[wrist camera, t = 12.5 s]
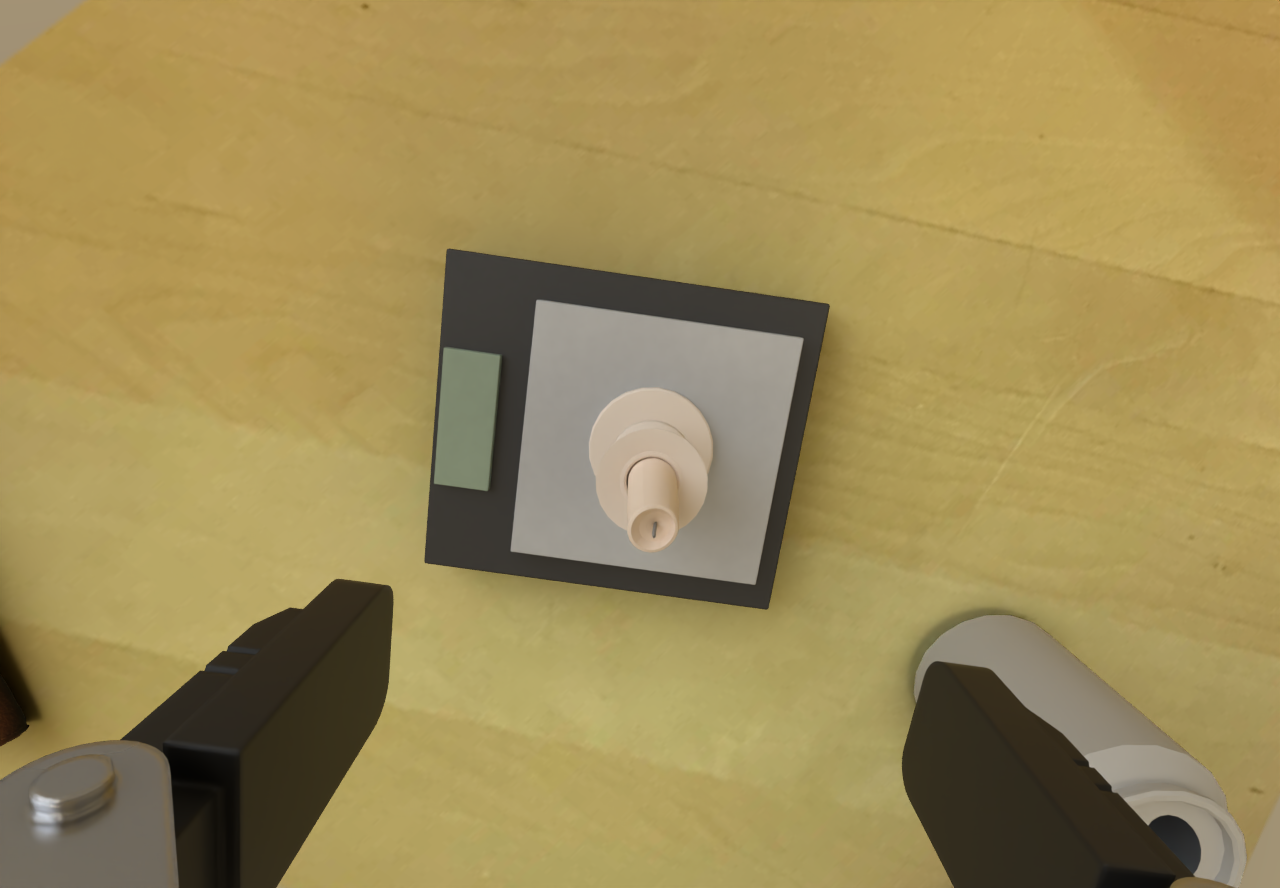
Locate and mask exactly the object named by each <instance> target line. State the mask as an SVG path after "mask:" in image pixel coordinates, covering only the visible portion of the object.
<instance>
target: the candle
mask: <svg viewBox="0 0 1280 888" xmlns="http://www.w3.org/2000/svg"><path fill="white" fill-rule="evenodd" d="M712 459H713V439H712V435H711V432H710V428H709V425H708V423H707V421H706V420H705V418H704V416H703V415H702V413H701V411H700V410H699V409H698V408H697V407H696V406H695V405H694V404H693V403H692V402H691V401H690V400H689V399H687V398H686V397H684V396H682V395H680V394H678V393H677V392H675V391H672V390H668V389H664V388H660V387H642V388H638V389H634V390H631V391H627V392H625V393H623V394H622V395H620V396H618V397H617V398H615V399H613V400H612V401H611V402H610V403H609V404H608V405H607V406H606V407H605V408H604V409H603V410H602V411H601V412H600V414H599V416H598V418H597V420H596V421H595V423H594V425H593V427H592V431H591V436H590V440H589V460H590V463H591V466H592V469H593V472H594V475H595V476H596V493H597V496H598V499H599V502H600V505H601V507H602V508H603V510H604V511H605V513H606V514H607V516H608V517H609V518H610V519H611V520H612V521H613V522H614V523H615V524H616V525H618V526H619V527H621V528H623V529H624V530H626V531H627V534H628V537H629V540H630V541H631V543H632V544H633V545H634V546H635V547H636V548H637V549H639V550H641V551H643V552H649V553H652V552H658V551H661V550H664V549H665V548H667V547H668V546H669V545H670V544H671V543H672V542H673V541H674V540H675V538H676V536H677V534H678V530H679V529H681V528H683V527H684V526H686V525H687V524H688V523H689V522H690V521H691V520H692V519H693V518H694V517H695V516H696V515H697V514H698V512H699V510H700V509H701V507H702V505H703V504H704V501H705V497H706V494H707V489H708V476H707V474H708V473H709V469H710V466H711V462H712Z"/></svg>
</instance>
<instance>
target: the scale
mask: <svg viewBox="0 0 1280 888" xmlns="http://www.w3.org/2000/svg"><path fill="white" fill-rule="evenodd" d="M829 307H830V306H829V304H826V303H819V302H812V301H805V300H798V299H791V298H784V297H778V296H771V295H764V294H757V293H750V292H743V291H736V290H730V289H723V288H716V287H709V286H702V285H695V284H688V283H682V282H675V281H668V280H661V279H654V278H647V277H640V276H633V275H627V274H620V273H613V272H606V271H599V270H592V269H585V268H579V267H572V266H565V265H558V264H551V263H544V262H537V261H531V260H524V259H517V258H510V257H503V256H496V255H489V254H482V253H476V252H469V251H462V250H455V249H447V254H446V268H445V282H444V296H443V310H442V324H441V338H440V352H439V366H438V380H437V394H436V408H435V422H434V436H433V450H432V464H431V478H430V492H429V506H428V520H427V534H426V548H425V563H428V564H436V565H443V566H450V567H458V568H465V569H472V570H480V571H487V572H494V573H502V574H509V575H517V576H524V577H531V578H539V579H546V580H553V581H561V582H568V583H575V584H583V585H590V586H597V587H605V588H612V589H620V590H627V591H634V592H642V593H649V594H656V595H664V596H671V597H678V598H686V599H693V600H701V601H708V602H715V603H723V604H730V605H737V606H745V607H752V608H759V609H768V608H769V603H770V598H771V593H772V588H773V583H774V578H775V573H776V568H777V563H778V559H779V554H780V549H781V544H782V539H783V534H784V529H785V524H786V519H787V514H788V509H789V504H790V499H791V494H792V490H793V485H794V480H795V475H796V470H797V465H798V460H799V455H800V450H801V445H802V440H803V435H804V430H805V425H806V421H807V416H808V411H809V406H810V401H811V396H812V391H813V386H814V381H815V376H816V371H817V366H818V361H819V356H820V352H821V347H822V342H823V337H824V332H825V327H826V322H827V317H828V312H829ZM642 387H660V388H664V389H668V390H672V391H675V392H677V393H678V394H680V395H682V396H684V397H686V398H687V399H689V400H690V401H691V402H692V403H693V404H694V405H695V406H696V407H697V408H698V409H699V410H700V411H701V413H702V415H703V416H704V418H705V420H706V421H707V423H708V425H709V428H710V432H711V435H712V439H713V459H712V462H711V466H710V469H709V473H708V474H707V476H708V489H707V494H706V497H705V501H704V504H703V505H702V507H701V509H700V510H699V512H698V514H697V515H696V516H695V517H694V518H693V519H692V520H691V521H690V522H689V523H688V524H687V525H686V526H684V527H683V528H681V529H679V530H678V534H677V536H676V538H675V540H674V541H673V542H672V543H671V544H670V545H669V546H668V547H667V548H665V549H664V550H661V551H658V552H652V553H649V552H643V551H641V550H639V549H637V548H636V547H635V546H634V545H633V544H632V543H631V541H630V540H629V537H628V534H627V531H626V530H624V529H623V528H621V527H619V526H618V525H616V524H615V523H614V522H613V521H612V520H611V519H610V518H609V517H608V516H607V514H606V513H605V511H604V510H603V508H602V507H601V505H600V502H599V499H598V496H597V493H596V476H595V475H594V472H593V469H592V466H591V463H590V460H589V440H590V436H591V431H592V427H593V425H594V423H595V421H596V420H597V418H598V416H599V414H600V412H601V411H602V410H603V409H604V408H605V407H606V406H607V405H608V404H609V403H610V402H611V401H612V400H613V399H615V398H617V397H618V396H620V395H622V394H623V393H625V392H627V391H631V390H634V389H638V388H642Z"/></svg>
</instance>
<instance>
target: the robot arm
mask: <svg viewBox="0 0 1280 888" xmlns="http://www.w3.org/2000/svg"><path fill="white" fill-rule="evenodd" d="M392 619H393V591H392V589H391V587H390V586H388V585H381V584H374V583H366V582H359V581H352V580H344V579H336V580H334V581H333V582H331V583H330V584H329V585H328V586H327V587H326V588H325V589H324V590H323V591H322V592H321V593H320V594H319V595H318V596H317V597H316V598H314V599H313V600H312V601H311V602H310V603H309V604H308V605H307V606H306V607H305V608H304V609H297V608H288V609H286V610H284V611H282V612H279V613H277V614H275V615H273V616H271V617H269V618H266V619H264V620H262V621H260V622H258V623H255V624H254V625H252V626H251V627H250V628H249V629H248V630H247V631H245V632H244V633H243V634H242V635H241V636H240V637H239V638H237V639H236V640H235V641H234V642H233V643H232V644H230V645H229V646H228V649H227V651H222V652H221V653H220V654H219V655H218V656H217V657H215V658H214V659H213V660H212V661H211V662H210V663H209V664H207V665H206V668H205V670H204V671H199V672H198V673H197V674H196V675H195V676H194V677H192V678H191V679H190V680H189V681H188V682H187V683H185V684H184V685H183V686H182V687H181V688H180V689H179V690H177V691H176V692H175V693H174V694H173V695H172V696H170V697H169V698H168V699H167V700H166V701H165V702H164V703H162V704H161V705H160V706H159V707H158V708H157V709H155V710H154V711H153V712H152V713H151V714H150V715H149V716H147V717H146V718H145V719H144V720H143V721H142V722H140V723H139V724H138V725H137V726H136V727H135V728H134V729H132V730H131V731H130V732H129V733H128V734H127V735H125V736H124V737H123V738H122V739H121V740H110V741H101V742H93V743H88V744H83V745H78V746H74V747H71V748H67V749H64V750H60V751H58V752H55V753H52V754H49V755H47V756H44V757H42V758H40V759H37V760H35V761H33V762H31V763H28V764H27V765H25V766H23V767H21V768H19V769H17V770H15V771H14V772H12V773H11V774H9V775H7V776H6V777H4V778H3V779H1V780H0V888H276V887H277V885H278V884H279V882H280V881H281V879H282V877H283V876H284V874H285V872H286V871H287V869H288V868H289V866H290V864H291V863H292V861H293V859H294V858H295V856H296V855H297V853H298V851H299V850H300V848H301V846H302V845H303V843H304V841H305V840H306V838H307V837H308V835H309V833H310V832H311V830H312V828H313V827H314V825H315V824H316V822H317V820H318V819H319V817H320V815H321V814H322V812H323V810H324V809H325V807H326V806H327V804H328V802H329V801H330V799H331V797H332V796H333V794H334V793H335V791H336V789H337V788H338V786H339V784H340V783H341V781H342V779H343V778H344V776H345V775H346V773H347V771H348V770H349V768H350V766H351V765H352V763H353V762H354V760H355V758H356V757H357V755H358V753H359V752H360V750H361V749H362V747H363V745H364V744H365V742H366V740H367V739H368V737H369V735H370V734H371V732H372V731H373V729H374V727H375V725H376V724H377V721H378V719H379V717H380V714H381V712H382V709H383V706H384V702H385V699H386V694H387V689H388V683H389V669H390V652H391V636H392ZM902 773H903V781H904V786H905V790H906V793H907V795H908V798H909V800H910V802H911V804H912V806H913V808H914V810H915V812H916V814H917V815H918V817H919V819H920V821H921V823H922V825H923V827H924V829H925V831H926V833H927V835H928V837H929V839H930V841H931V843H932V845H933V847H934V849H935V851H936V853H937V855H938V857H939V859H940V861H941V862H942V864H943V866H944V868H945V870H946V872H947V874H948V876H949V878H950V880H951V882H952V884H953V886H954V888H1235V887H1232V886H1229V885H1227V884H1224V883H1221V882H1217V881H1214V880H1210V879H1205V878H1199V877H1195V876H1194V875H1193V874H1192V872H1191V871H1190V870H1189V869H1188V868H1187V867H1186V866H1185V865H1184V864H1183V863H1182V862H1181V861H1180V860H1179V858H1178V857H1177V856H1176V855H1175V854H1174V853H1173V852H1172V851H1171V850H1170V849H1169V848H1168V847H1167V846H1166V844H1165V843H1164V842H1163V841H1162V840H1161V839H1160V838H1159V837H1158V836H1157V835H1156V834H1155V833H1154V831H1153V830H1152V829H1151V828H1150V827H1149V826H1148V825H1147V824H1146V823H1145V822H1144V821H1143V820H1142V819H1141V817H1140V816H1139V815H1138V814H1137V813H1136V812H1135V811H1134V810H1133V809H1132V808H1131V807H1130V806H1129V805H1128V803H1127V802H1126V801H1125V800H1124V799H1123V798H1122V797H1121V796H1120V795H1119V794H1118V793H1115V792H1112V786H1111V785H1110V784H1109V783H1108V782H1107V781H1106V780H1105V779H1104V778H1103V776H1102V775H1101V774H1100V773H1099V772H1098V771H1097V770H1096V769H1095V768H1092V767H1089V761H1088V760H1087V759H1086V758H1085V757H1084V756H1083V755H1082V754H1081V753H1080V752H1079V751H1078V749H1077V748H1076V747H1075V746H1074V745H1073V744H1072V743H1071V742H1070V741H1069V740H1068V739H1067V738H1066V737H1065V735H1064V734H1063V733H1061V732H1060V731H1059V730H1057V729H1056V728H1054V727H1053V726H1052V725H1050V724H1049V723H1047V722H1046V721H1044V720H1043V719H1042V718H1040V717H1039V716H1037V715H1036V714H1035V713H1033V712H1032V711H1030V710H1029V709H1028V708H1026V707H1025V706H1024V705H1023V704H1022V703H1021V702H1020V700H1019V699H1018V698H1017V697H1016V696H1015V695H1014V694H1013V693H1012V691H1011V690H1010V689H1009V688H1008V687H1007V686H1006V685H1005V684H1004V683H1003V681H1002V680H1001V679H1000V678H999V677H998V676H997V675H996V674H995V673H994V672H993V671H992V670H991V669H989V668H985V667H979V666H971V665H964V664H956V663H949V662H942V661H935V662H933V663H931V664H930V665H929V667H928V668H927V670H926V672H925V675H924V678H923V681H922V685H921V689H920V692H919V696H918V699H917V703H916V707H915V710H914V714H913V717H912V721H911V725H910V728H909V732H908V735H907V739H906V743H905V746H904V750H903V757H902Z"/></svg>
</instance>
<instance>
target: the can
mask: <svg viewBox="0 0 1280 888" xmlns="http://www.w3.org/2000/svg"><path fill="white" fill-rule="evenodd" d="M935 661H942V662H949V663H956V664H964V665H971V666H979V667H985V668H989V669H991V670H992V671H993V672H994V673H995V674H996V675H997V676H998V677H999V678H1000V679H1001V680H1002V681H1003V683H1004V684H1005V685H1006V686H1007V687H1008V688H1009V689H1010V690H1011V691H1012V693H1013V694H1014V695H1015V696H1016V697H1017V698H1018V699H1019V700H1020V702H1021V703H1022V704H1023V705H1024V706H1025V707H1026V708H1028V709H1029V710H1030V711H1032V712H1033V713H1035V714H1036V715H1037V716H1039V717H1040V718H1042V719H1043V720H1044V721H1046V722H1047V723H1049V724H1050V725H1052V726H1053V727H1054V728H1056V729H1057V730H1059V731H1060V732H1061V733H1063V734H1064V735H1065V737H1066V738H1067V739H1068V740H1069V741H1070V742H1071V743H1072V744H1073V745H1074V746H1075V747H1076V748H1077V749H1078V751H1079V752H1080V753H1081V754H1082V755H1083V756H1084V757H1085V758H1086V759H1087V760H1088V761H1089V767H1092V768H1095V769H1096V770H1097V771H1098V772H1099V773H1100V774H1101V775H1102V776H1103V778H1104V779H1105V780H1106V781H1107V782H1108V783H1109V784H1110V785H1111V786H1112V792H1115V793H1118V794H1119V795H1120V796H1121V797H1122V798H1123V799H1124V800H1125V801H1126V802H1127V803H1128V805H1129V806H1130V807H1131V808H1132V809H1133V810H1134V811H1135V812H1136V813H1137V814H1138V815H1139V816H1140V817H1141V819H1142V820H1143V821H1144V822H1145V823H1146V824H1147V825H1148V826H1149V827H1150V828H1151V829H1152V830H1153V831H1154V833H1155V834H1156V835H1157V836H1158V837H1159V838H1160V839H1161V840H1162V841H1163V842H1164V843H1165V844H1166V846H1167V847H1168V848H1169V849H1170V850H1171V851H1172V852H1173V853H1174V854H1175V855H1176V856H1177V857H1178V858H1179V860H1180V861H1181V862H1182V863H1183V864H1184V865H1185V866H1186V867H1187V868H1188V869H1189V870H1190V871H1191V872H1192V874H1193V875H1194V876H1195V877H1199V878H1205V879H1210V880H1214V881H1217V882H1221V883H1224V884H1227V885H1229V886H1232V887H1235V888H1238V887H1239V886H1240V884H1241V880H1242V876H1243V872H1244V869H1245V865H1246V861H1247V855H1246V847H1245V840H1244V834H1243V833H1242V831H1241V830H1240V828H1239V826H1238V825H1237V823H1236V821H1235V820H1234V818H1233V816H1232V815H1231V814H1230V813H1229V812H1228V810H1227V803H1226V796H1225V794H1224V792H1223V791H1222V789H1221V788H1220V786H1219V784H1218V783H1217V781H1216V779H1215V778H1214V776H1213V774H1212V773H1211V772H1210V771H1209V770H1208V769H1207V768H1206V767H1204V766H1203V765H1202V764H1201V763H1200V762H1199V761H1197V760H1196V759H1195V758H1194V757H1193V756H1191V755H1190V754H1189V753H1188V752H1187V751H1186V750H1184V749H1183V748H1182V747H1181V746H1180V745H1179V744H1177V743H1176V742H1175V741H1174V740H1173V739H1172V738H1170V737H1169V736H1168V735H1167V734H1166V733H1164V732H1163V731H1162V730H1161V729H1160V728H1159V727H1157V726H1156V725H1155V724H1154V723H1153V722H1152V721H1150V720H1149V719H1148V718H1147V717H1146V716H1145V715H1143V714H1142V713H1141V712H1140V711H1139V710H1137V709H1136V708H1135V707H1134V706H1133V705H1132V704H1130V703H1129V702H1128V701H1127V700H1126V699H1125V698H1123V697H1122V696H1121V695H1120V694H1119V693H1118V692H1116V691H1115V690H1114V689H1113V688H1112V687H1110V686H1109V685H1108V684H1107V683H1106V682H1105V681H1103V680H1102V679H1101V678H1100V677H1099V676H1098V675H1096V674H1095V673H1094V672H1093V671H1092V670H1091V669H1089V668H1088V667H1087V666H1086V665H1085V664H1083V663H1082V662H1081V661H1080V660H1079V659H1078V658H1076V657H1075V656H1074V655H1073V654H1072V653H1071V652H1069V651H1068V650H1067V649H1066V648H1065V647H1064V646H1062V645H1061V644H1060V643H1059V642H1058V641H1056V640H1055V639H1054V638H1053V637H1052V636H1051V635H1049V634H1048V633H1047V632H1045V631H1044V630H1043V629H1041V628H1040V627H1039V626H1037V625H1036V624H1035V623H1033V622H1030V621H1027V620H1024V619H1021V618H1018V617H1015V616H1012V615H985V616H982V617H978V618H974V619H971V620H967V621H963V622H961V623H960V624H958V625H956V626H955V627H953V628H951V629H950V630H948V631H946V632H945V633H943V634H942V635H941V636H940V637H939V638H938V639H937V640H936V641H935V642H934V643H933V644H932V645H931V646H930V647H929V648H928V650H927V651H926V652H925V654H924V656H923V658H922V660H921V662H920V664H919V666H918V669H917V671H916V676H915V685H914V696H915V700H916V703H917V699H918V696H919V692H920V689H921V685H922V681H923V678H924V675H925V672H926V670H927V668H928V667H929V665H930V664H931V663H933V662H935Z"/></svg>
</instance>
